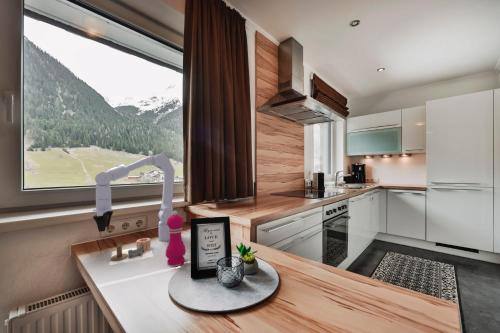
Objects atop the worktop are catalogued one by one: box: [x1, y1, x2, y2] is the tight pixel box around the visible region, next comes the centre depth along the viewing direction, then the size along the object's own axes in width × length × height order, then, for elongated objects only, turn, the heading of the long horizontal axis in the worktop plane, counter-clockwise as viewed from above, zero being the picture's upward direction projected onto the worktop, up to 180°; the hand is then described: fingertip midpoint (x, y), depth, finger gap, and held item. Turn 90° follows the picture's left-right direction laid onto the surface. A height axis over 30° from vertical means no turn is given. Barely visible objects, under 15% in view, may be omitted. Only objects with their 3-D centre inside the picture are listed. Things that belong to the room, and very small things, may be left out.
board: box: [109, 245, 154, 266], centre depth 91 cm, size 15×16×1 cm
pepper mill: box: [165, 210, 187, 268], centre depth 82 cm, size 7×7×20 cm
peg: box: [110, 244, 128, 261], centre depth 87 cm, size 6×6×5 cm
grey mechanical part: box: [128, 245, 144, 258], centre depth 90 cm, size 6×5×3 cm
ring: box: [136, 237, 152, 251], centre depth 96 cm, size 6×6×4 cm
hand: (104, 229), depth 97 cm, fingers open, 7 cm apart
